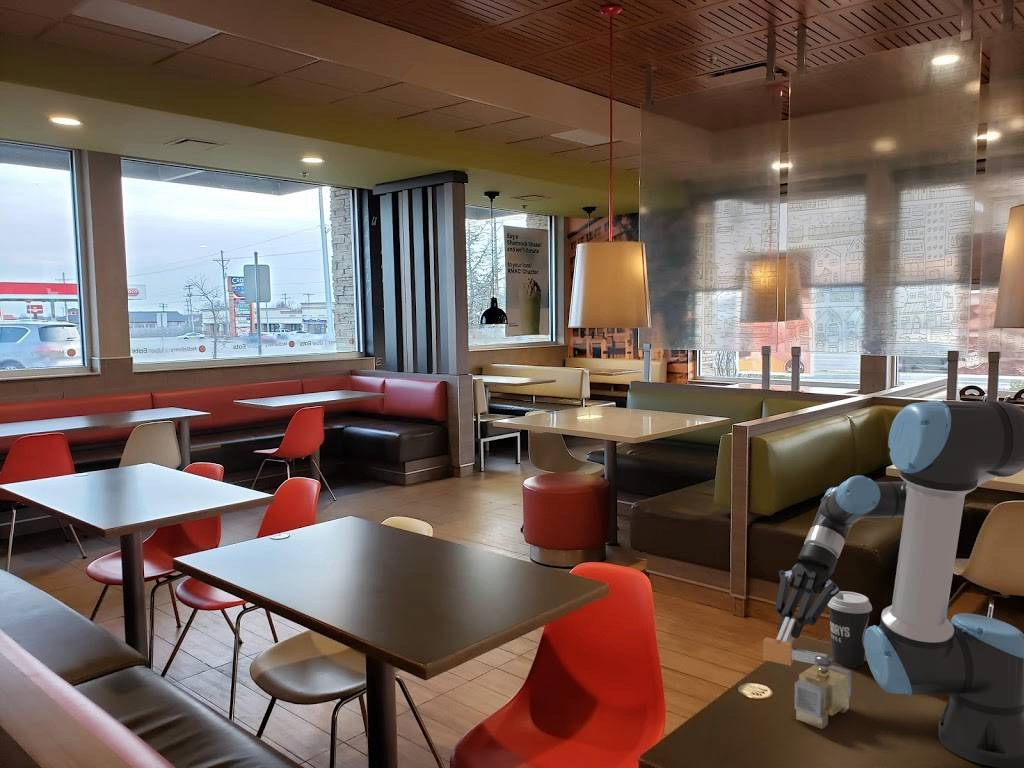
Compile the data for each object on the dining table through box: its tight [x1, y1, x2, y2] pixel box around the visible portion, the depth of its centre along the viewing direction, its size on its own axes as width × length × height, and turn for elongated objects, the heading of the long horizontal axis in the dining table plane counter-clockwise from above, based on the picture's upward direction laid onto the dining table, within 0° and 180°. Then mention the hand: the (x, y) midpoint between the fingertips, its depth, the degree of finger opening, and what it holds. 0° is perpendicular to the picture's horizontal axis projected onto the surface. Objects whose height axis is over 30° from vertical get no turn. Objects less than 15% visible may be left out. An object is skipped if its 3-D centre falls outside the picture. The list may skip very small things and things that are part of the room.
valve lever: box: [762, 637, 833, 672], centre depth 156 cm, size 13×3×4 cm, turn 56°
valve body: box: [793, 664, 852, 730], centre depth 153 cm, size 13×7×9 cm, turn 132°
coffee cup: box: [827, 590, 873, 668], centre depth 178 cm, size 10×10×15 cm
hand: (781, 648), depth 160 cm, fingers closed
